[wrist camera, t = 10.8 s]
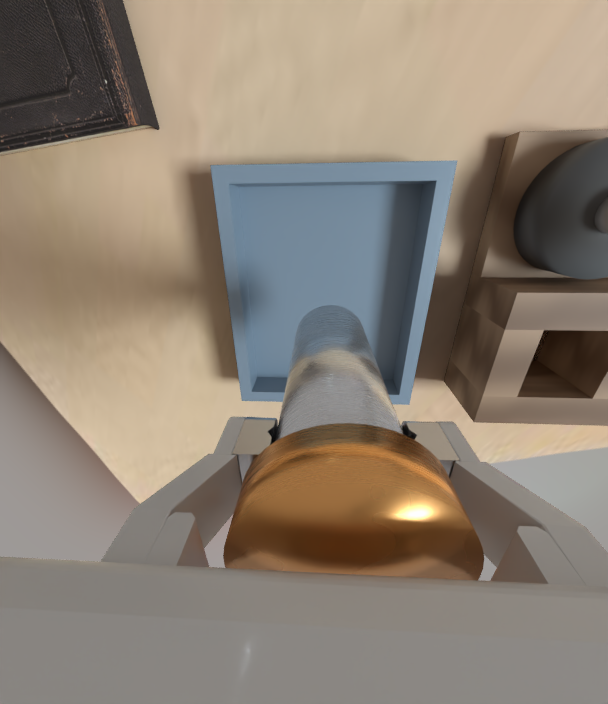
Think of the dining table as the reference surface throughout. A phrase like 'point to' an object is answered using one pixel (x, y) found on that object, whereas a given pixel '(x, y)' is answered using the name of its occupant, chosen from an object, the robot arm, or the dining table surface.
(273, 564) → the pin
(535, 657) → the robot arm
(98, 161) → the dining table surface
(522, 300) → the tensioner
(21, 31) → the hardcover book
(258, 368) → the tray
